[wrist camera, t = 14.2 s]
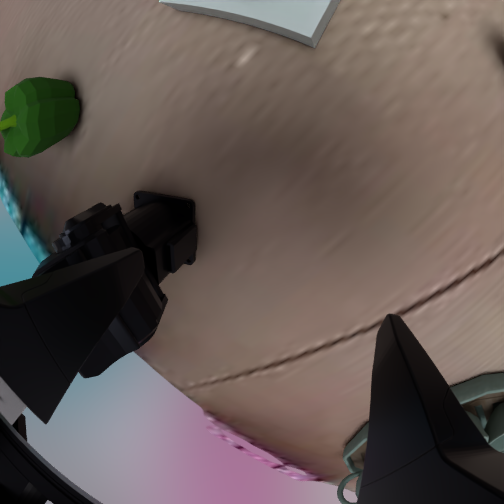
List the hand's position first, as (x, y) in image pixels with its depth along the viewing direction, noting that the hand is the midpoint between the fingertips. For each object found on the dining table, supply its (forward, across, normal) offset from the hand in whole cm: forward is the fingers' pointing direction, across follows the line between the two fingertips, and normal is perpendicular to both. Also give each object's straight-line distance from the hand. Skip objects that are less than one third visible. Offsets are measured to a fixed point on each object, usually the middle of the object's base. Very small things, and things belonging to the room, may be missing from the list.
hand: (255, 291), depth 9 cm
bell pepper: (+13, +26, -6) cm, 30 cm away
